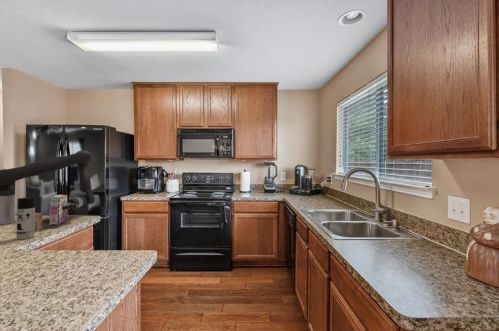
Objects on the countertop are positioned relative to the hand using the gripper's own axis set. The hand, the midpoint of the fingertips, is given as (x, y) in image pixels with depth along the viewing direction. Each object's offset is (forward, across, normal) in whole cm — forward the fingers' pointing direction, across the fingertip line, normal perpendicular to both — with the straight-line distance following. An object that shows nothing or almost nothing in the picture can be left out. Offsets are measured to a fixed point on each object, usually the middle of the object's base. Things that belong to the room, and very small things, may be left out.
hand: (57, 208), depth 148 cm
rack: (+2, -8, +10) cm, 13 cm away
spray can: (+24, 0, +10) cm, 26 cm away
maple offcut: (+8, -7, +10) cm, 15 cm away
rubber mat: (-1, 0, +10) cm, 11 cm away
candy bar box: (-1, 0, +9) cm, 9 cm away
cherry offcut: (+8, -7, +6) cm, 12 cm away
